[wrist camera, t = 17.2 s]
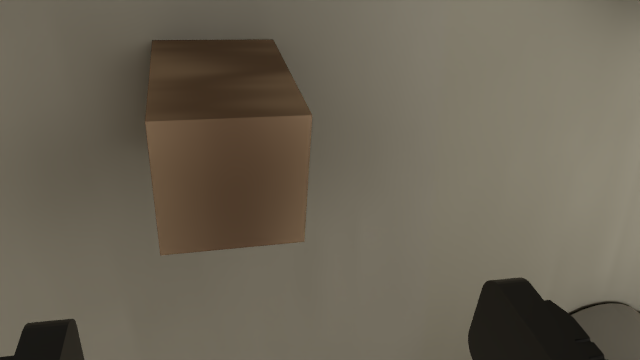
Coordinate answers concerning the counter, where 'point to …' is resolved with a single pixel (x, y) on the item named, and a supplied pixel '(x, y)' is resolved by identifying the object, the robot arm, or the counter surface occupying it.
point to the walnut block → (226, 145)
